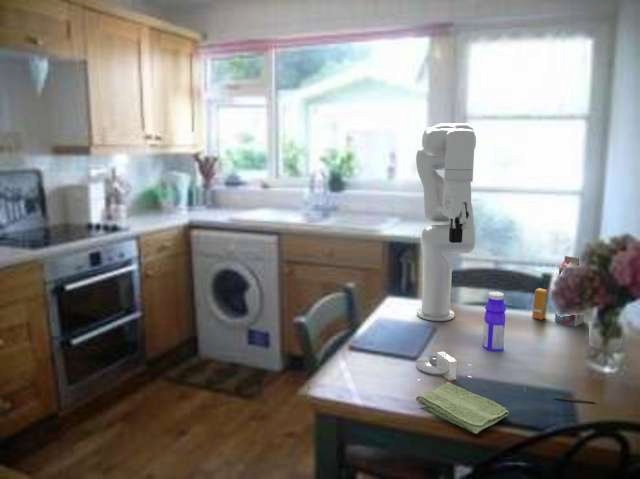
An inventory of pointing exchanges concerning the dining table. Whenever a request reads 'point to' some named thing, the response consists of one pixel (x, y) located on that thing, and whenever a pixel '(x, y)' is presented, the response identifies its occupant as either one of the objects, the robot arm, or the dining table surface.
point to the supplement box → (539, 303)
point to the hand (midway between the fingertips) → (455, 242)
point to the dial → (438, 365)
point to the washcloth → (462, 407)
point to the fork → (572, 399)
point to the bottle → (494, 322)
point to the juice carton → (572, 319)
